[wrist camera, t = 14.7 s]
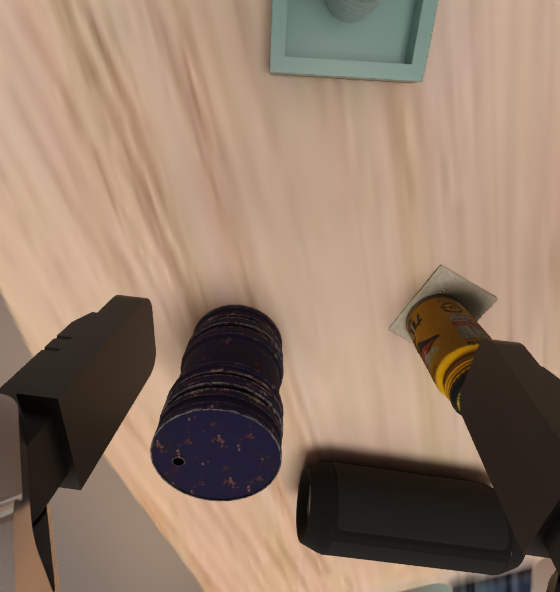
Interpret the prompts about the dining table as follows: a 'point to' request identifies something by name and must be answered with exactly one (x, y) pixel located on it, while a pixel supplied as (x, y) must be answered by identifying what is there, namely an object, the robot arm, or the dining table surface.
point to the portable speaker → (404, 519)
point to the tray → (352, 41)
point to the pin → (351, 9)
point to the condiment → (446, 328)
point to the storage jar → (224, 409)
